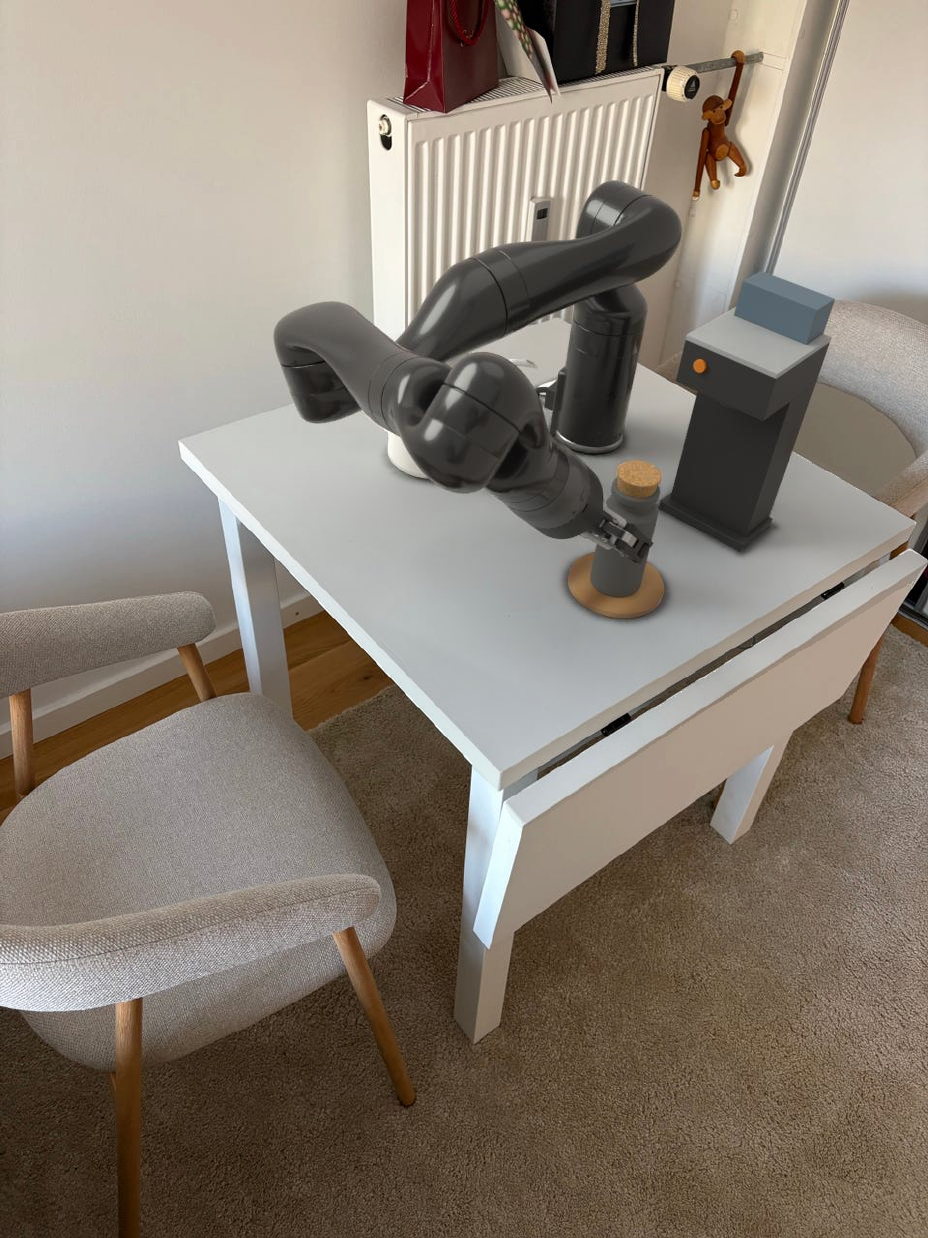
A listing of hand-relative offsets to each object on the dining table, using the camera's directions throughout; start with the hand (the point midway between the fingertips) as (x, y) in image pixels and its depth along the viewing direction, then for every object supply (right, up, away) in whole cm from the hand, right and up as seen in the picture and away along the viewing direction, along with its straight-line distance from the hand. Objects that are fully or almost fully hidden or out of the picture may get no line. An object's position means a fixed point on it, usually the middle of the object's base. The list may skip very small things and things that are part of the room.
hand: (604, 533), depth 104 cm
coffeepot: (-19, +12, +26) cm, 35 cm away
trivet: (+3, -5, +10) cm, 12 cm away
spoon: (+3, +27, +45) cm, 52 cm away
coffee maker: (+15, +3, +20) cm, 25 cm away
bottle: (+3, -5, +10) cm, 11 cm away
